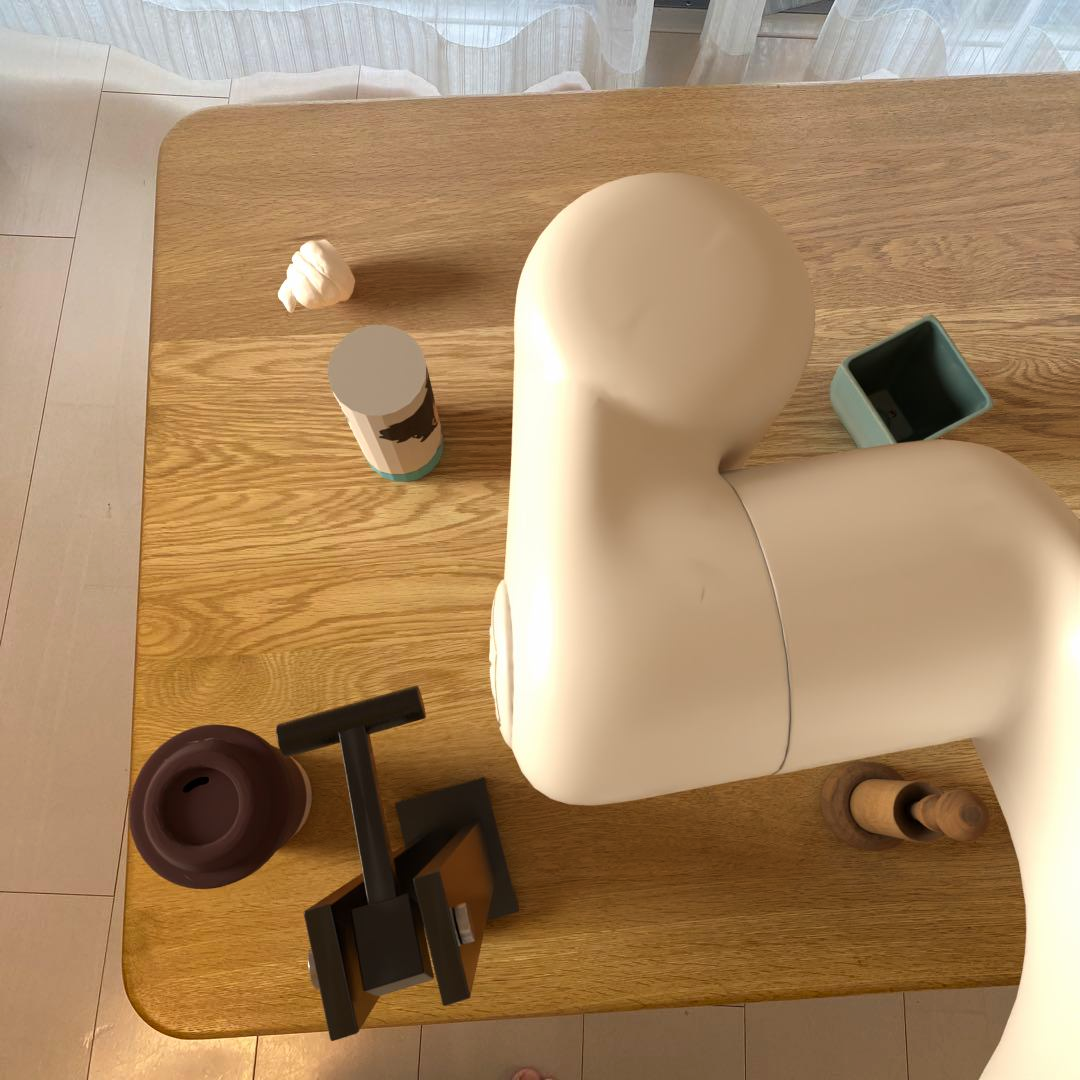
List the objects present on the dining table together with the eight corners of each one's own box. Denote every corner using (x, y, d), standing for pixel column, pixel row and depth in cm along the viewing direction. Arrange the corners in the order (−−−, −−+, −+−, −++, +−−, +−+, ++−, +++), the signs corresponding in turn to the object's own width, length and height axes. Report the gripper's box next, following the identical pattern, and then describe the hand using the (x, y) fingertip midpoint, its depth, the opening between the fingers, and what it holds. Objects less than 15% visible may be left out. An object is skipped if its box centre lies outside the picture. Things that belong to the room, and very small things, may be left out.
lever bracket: (396, 802, 71) (258, 840, 34) (484, 776, 72) (446, 785, 34) (428, 937, 69) (319, 1139, 31) (519, 909, 70) (519, 1075, 32)
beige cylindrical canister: (460, 445, 78) (446, 372, 64) (400, 498, 77) (372, 435, 62) (407, 390, 79) (382, 305, 65) (346, 441, 78) (307, 366, 64)
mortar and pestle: (813, 836, 71) (909, 858, 54) (827, 752, 73) (924, 747, 55) (898, 858, 71) (1022, 887, 54) (910, 773, 73) (1035, 774, 55)
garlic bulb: (271, 296, 81) (253, 264, 76) (325, 256, 82) (312, 221, 77) (309, 340, 80) (294, 310, 75) (364, 299, 81) (353, 267, 76)
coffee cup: (315, 877, 70) (261, 905, 55) (185, 855, 70) (97, 878, 55) (342, 743, 72) (298, 737, 58) (217, 723, 72) (141, 711, 58)
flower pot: (859, 492, 78) (902, 457, 69) (803, 404, 80) (838, 360, 71) (946, 445, 79) (998, 405, 70) (888, 360, 81) (933, 311, 72)
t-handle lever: (287, 734, 40) (270, 715, 38) (423, 696, 41) (413, 675, 39) (327, 1012, 35) (309, 1008, 33) (483, 964, 35) (476, 957, 33)
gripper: (467, 302, 35) (485, 464, 53) (578, 689, 31) (557, 723, 49) (657, 256, 36) (612, 432, 53) (787, 630, 32) (692, 685, 50)
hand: (586, 571), depth 51 cm, fingers closed
